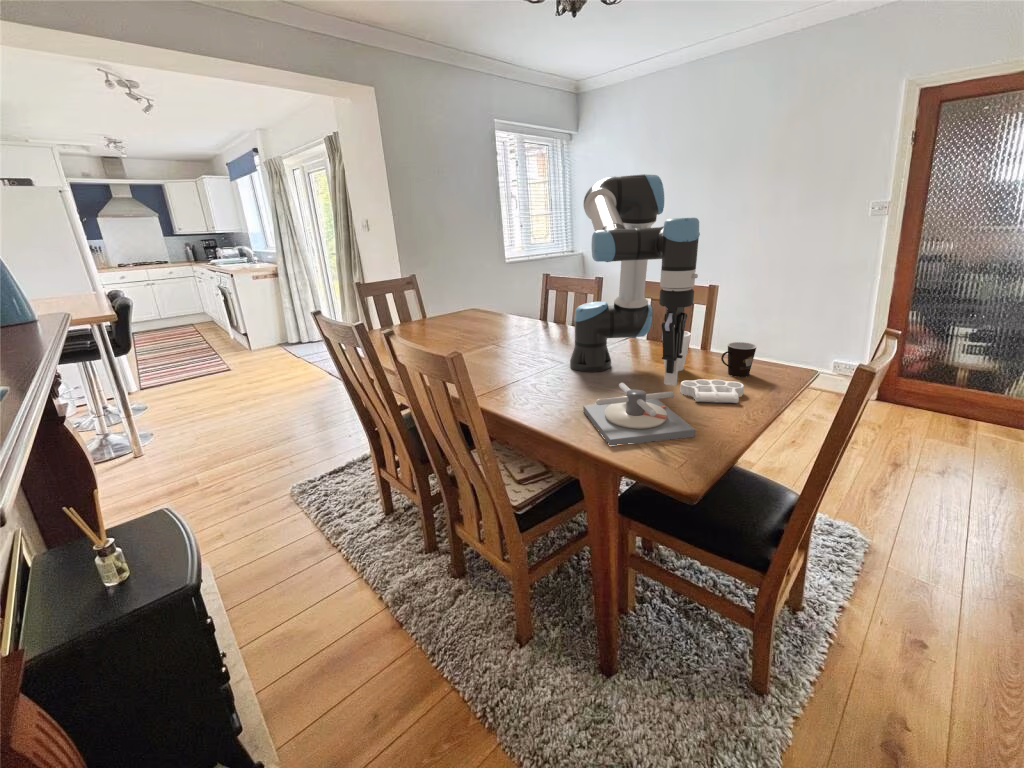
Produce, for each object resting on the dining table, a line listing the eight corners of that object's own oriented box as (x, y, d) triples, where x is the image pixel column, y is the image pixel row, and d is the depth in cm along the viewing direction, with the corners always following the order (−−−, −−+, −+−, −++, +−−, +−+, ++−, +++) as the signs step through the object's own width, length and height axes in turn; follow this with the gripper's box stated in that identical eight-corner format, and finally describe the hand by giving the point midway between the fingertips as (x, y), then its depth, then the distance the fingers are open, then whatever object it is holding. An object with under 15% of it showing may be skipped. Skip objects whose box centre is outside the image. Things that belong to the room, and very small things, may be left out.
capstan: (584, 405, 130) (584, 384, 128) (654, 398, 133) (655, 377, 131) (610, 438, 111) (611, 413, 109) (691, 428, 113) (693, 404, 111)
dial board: (583, 411, 132) (583, 404, 131) (655, 403, 135) (655, 396, 134) (609, 446, 112) (610, 438, 111) (694, 436, 114) (695, 428, 113)
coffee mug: (746, 369, 158) (750, 341, 155) (756, 378, 150) (761, 348, 147) (711, 370, 160) (714, 342, 156) (720, 378, 152) (723, 349, 148)
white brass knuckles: (683, 404, 135) (677, 386, 148) (750, 406, 131) (737, 388, 144) (684, 393, 133) (678, 377, 147) (751, 395, 130) (739, 378, 143)
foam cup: (693, 369, 162) (696, 333, 157) (676, 374, 157) (679, 338, 153) (670, 363, 169) (673, 328, 165) (654, 368, 165) (656, 333, 160)
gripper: (686, 293, 99) (678, 394, 107) (700, 285, 109) (692, 378, 117) (651, 291, 103) (646, 389, 111) (669, 284, 113) (663, 374, 121)
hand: (670, 384), depth 114 cm, fingers closed
